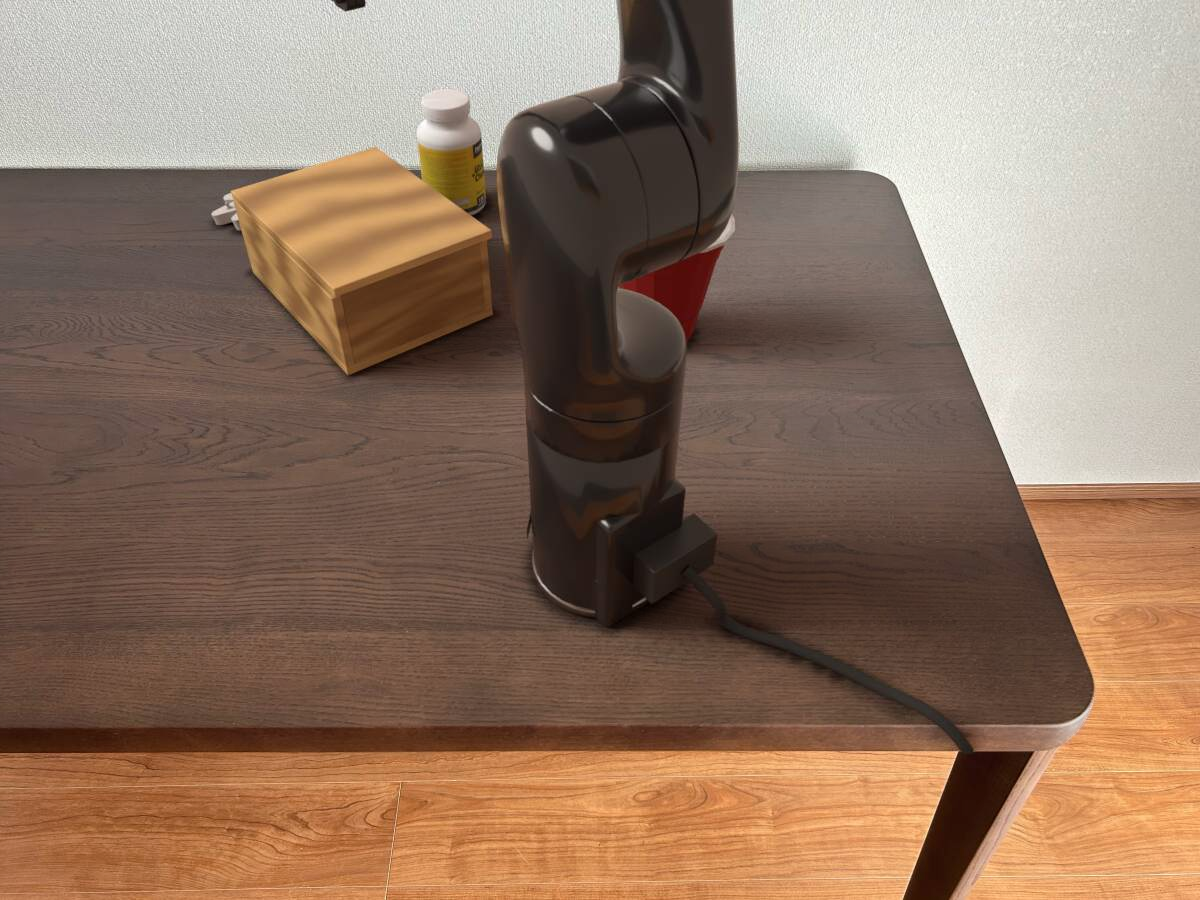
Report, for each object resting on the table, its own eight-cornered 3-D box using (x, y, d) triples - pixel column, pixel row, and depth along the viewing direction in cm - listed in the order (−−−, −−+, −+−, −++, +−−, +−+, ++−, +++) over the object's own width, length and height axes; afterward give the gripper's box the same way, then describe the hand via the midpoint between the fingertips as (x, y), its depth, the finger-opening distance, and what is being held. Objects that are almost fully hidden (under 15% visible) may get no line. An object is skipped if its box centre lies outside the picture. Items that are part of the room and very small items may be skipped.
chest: (493, 314, 88) (487, 240, 83) (348, 375, 82) (331, 298, 76) (387, 225, 100) (376, 154, 94) (252, 272, 93) (232, 199, 88)
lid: (492, 238, 82) (491, 230, 82) (335, 297, 76) (333, 289, 75) (376, 154, 94) (375, 146, 94) (232, 198, 88) (230, 190, 87)
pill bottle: (476, 224, 100) (467, 116, 92) (416, 217, 101) (402, 109, 93) (494, 194, 104) (486, 88, 96) (436, 187, 105) (424, 82, 97)
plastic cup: (746, 346, 86) (764, 226, 77) (641, 383, 82) (648, 261, 73) (679, 285, 92) (689, 168, 84) (579, 317, 88) (579, 198, 80)
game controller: (205, 217, 100) (198, 194, 98) (302, 181, 106) (298, 159, 104) (232, 238, 97) (225, 215, 96) (331, 200, 103) (326, 177, 101)
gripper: (216, -287, 52) (285, 43, 63) (431, -303, 58) (458, 2, 69) (165, -301, 56) (239, 11, 68) (371, -315, 62) (406, -26, 74)
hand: (350, 6), depth 69 cm, fingers closed
